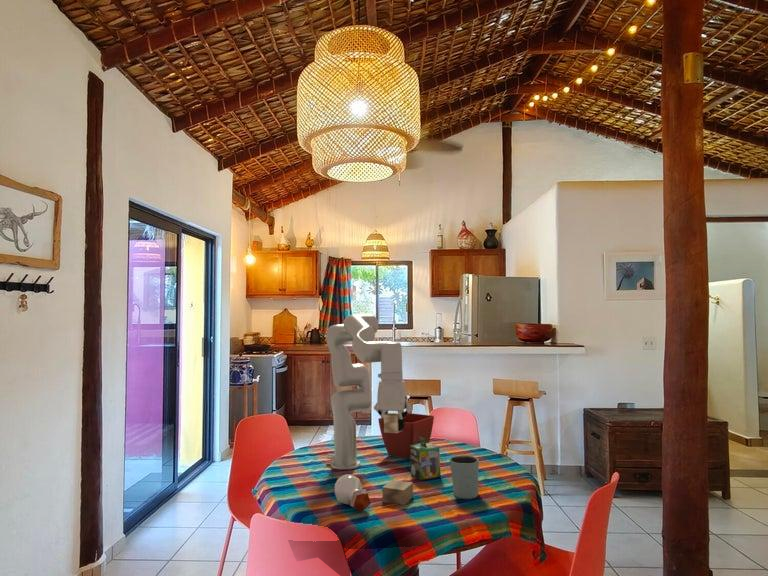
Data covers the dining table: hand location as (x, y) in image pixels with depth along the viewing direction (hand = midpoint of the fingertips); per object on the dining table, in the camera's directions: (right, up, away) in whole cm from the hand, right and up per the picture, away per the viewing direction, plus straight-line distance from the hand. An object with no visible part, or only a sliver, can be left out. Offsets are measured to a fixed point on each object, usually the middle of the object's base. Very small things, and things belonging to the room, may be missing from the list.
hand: (393, 429), depth 170 cm
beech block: (0, -1, 0) cm, 1 cm away
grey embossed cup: (+25, -23, 0) cm, 34 cm away
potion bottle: (-14, -23, -8) cm, 28 cm away
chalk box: (+13, -25, +22) cm, 35 cm away
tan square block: (+1, -23, -3) cm, 24 cm away
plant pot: (+7, -27, +52) cm, 59 cm away
